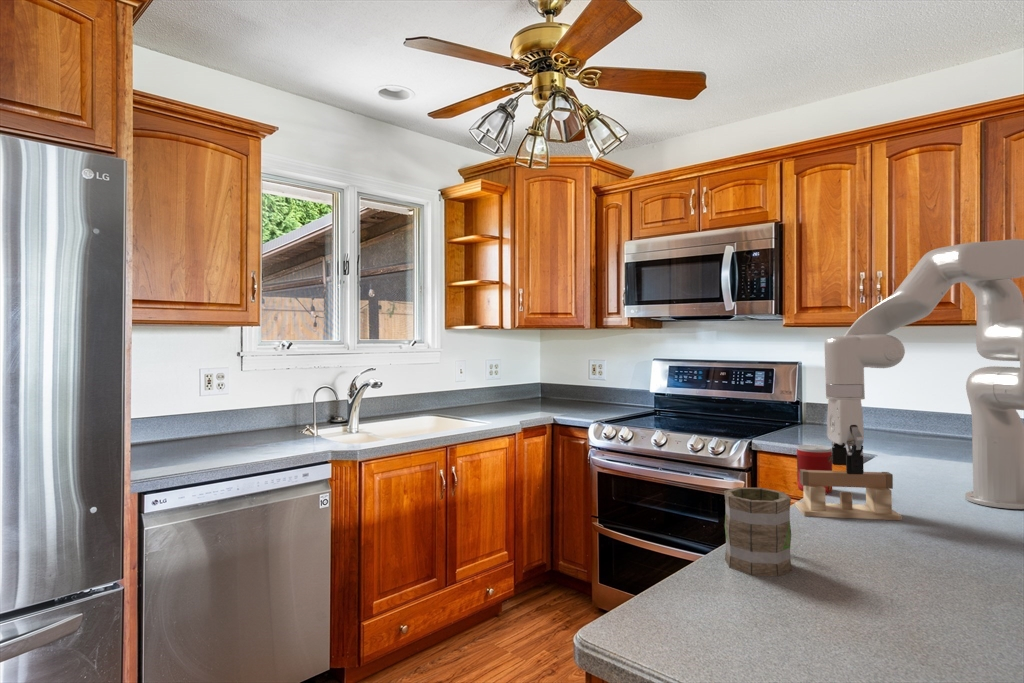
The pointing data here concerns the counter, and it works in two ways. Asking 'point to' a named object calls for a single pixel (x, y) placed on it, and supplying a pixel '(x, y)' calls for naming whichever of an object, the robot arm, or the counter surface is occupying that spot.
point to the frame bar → (846, 479)
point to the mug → (758, 531)
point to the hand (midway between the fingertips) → (847, 469)
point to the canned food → (814, 461)
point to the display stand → (848, 504)
